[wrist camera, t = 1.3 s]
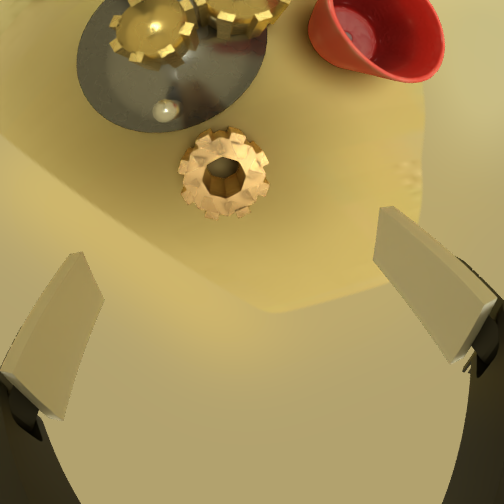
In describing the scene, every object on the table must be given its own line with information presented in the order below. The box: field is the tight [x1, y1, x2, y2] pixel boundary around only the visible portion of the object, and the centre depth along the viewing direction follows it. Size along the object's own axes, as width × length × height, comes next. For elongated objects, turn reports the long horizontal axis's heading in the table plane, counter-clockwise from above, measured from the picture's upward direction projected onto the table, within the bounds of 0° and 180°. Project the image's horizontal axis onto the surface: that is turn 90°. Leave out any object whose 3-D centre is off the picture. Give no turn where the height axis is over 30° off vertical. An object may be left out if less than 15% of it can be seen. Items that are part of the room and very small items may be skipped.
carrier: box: [77, 0, 291, 132], centre depth 15 cm, size 18×20×8 cm
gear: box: [177, 126, 270, 220], centre depth 23 cm, size 7×7×6 cm
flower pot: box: [308, 0, 445, 83], centre depth 15 cm, size 11×11×10 cm
